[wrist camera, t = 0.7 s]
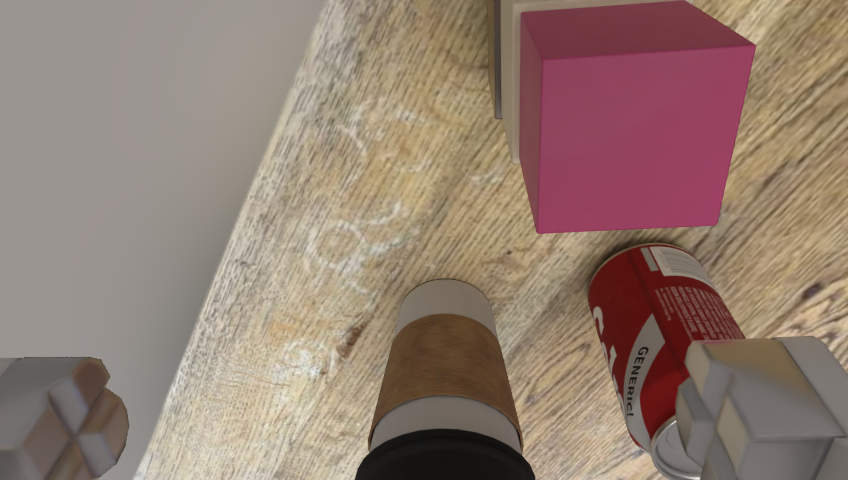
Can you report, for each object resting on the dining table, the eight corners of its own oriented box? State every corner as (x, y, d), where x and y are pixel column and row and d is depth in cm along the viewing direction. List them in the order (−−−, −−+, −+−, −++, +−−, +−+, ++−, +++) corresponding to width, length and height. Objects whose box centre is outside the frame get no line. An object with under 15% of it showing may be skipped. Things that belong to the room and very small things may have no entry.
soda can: (645, 215, 34) (728, 370, 24) (724, 274, 36) (832, 440, 26) (562, 290, 37) (605, 456, 27) (638, 340, 39) (705, 512, 29)
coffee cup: (540, 311, 38) (586, 540, 25) (451, 382, 42) (452, 613, 29) (439, 237, 35) (434, 453, 23) (353, 319, 39) (308, 545, 26)
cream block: (500, -25, 23) (512, 3, 18) (649, -37, 22) (696, -10, 18) (501, 113, 26) (511, 165, 21) (632, 105, 25) (669, 156, 21)
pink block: (520, 11, 19) (541, 58, 14) (686, -1, 18) (757, 44, 14) (519, 158, 21) (536, 234, 17) (663, 150, 21) (717, 226, 17)
